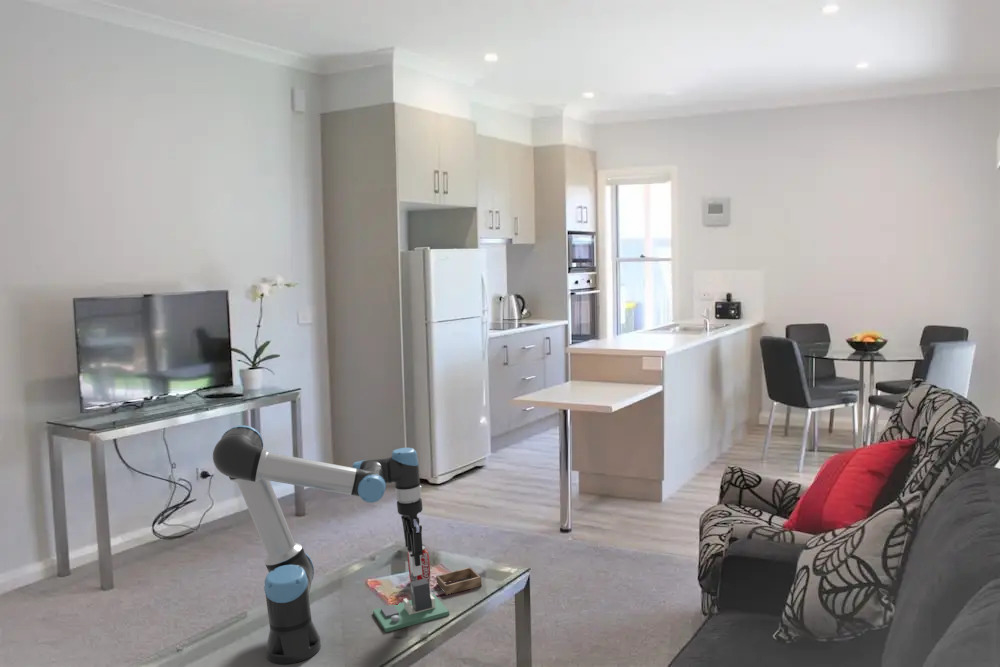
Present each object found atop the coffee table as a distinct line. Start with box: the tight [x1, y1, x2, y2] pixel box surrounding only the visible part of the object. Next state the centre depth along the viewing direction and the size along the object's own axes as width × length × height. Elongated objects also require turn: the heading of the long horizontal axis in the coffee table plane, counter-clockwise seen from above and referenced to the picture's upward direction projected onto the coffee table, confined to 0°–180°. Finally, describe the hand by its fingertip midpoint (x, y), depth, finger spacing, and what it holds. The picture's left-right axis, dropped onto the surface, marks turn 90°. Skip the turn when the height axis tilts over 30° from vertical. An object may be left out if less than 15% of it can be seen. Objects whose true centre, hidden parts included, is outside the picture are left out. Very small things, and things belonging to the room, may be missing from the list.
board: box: [372, 592, 450, 633], centre depth 256 cm, size 20×14×4 cm
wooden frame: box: [435, 566, 482, 596], centre depth 274 cm, size 12×9×3 cm
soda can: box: [407, 543, 431, 582], centre depth 279 cm, size 7×7×12 cm
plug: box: [409, 578, 432, 612], centre depth 257 cm, size 5×4×8 cm
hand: (416, 573), depth 256 cm, fingers open, 2 cm apart
